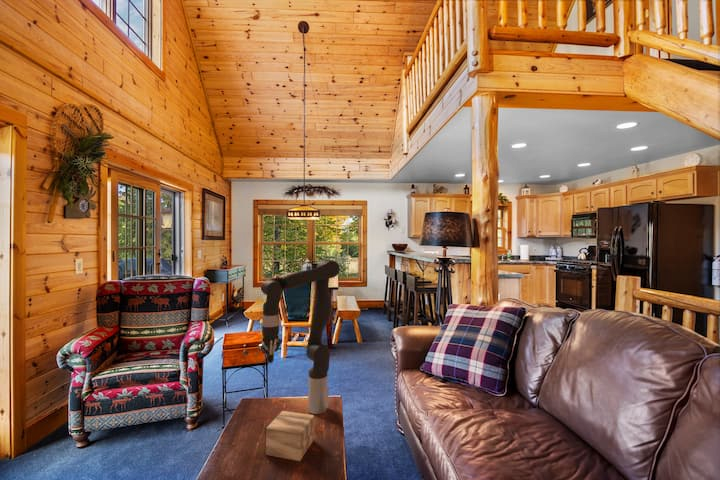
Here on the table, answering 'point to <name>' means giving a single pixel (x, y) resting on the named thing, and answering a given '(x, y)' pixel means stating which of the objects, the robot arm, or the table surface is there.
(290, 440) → the socket block
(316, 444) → the table surface
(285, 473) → the table surface
